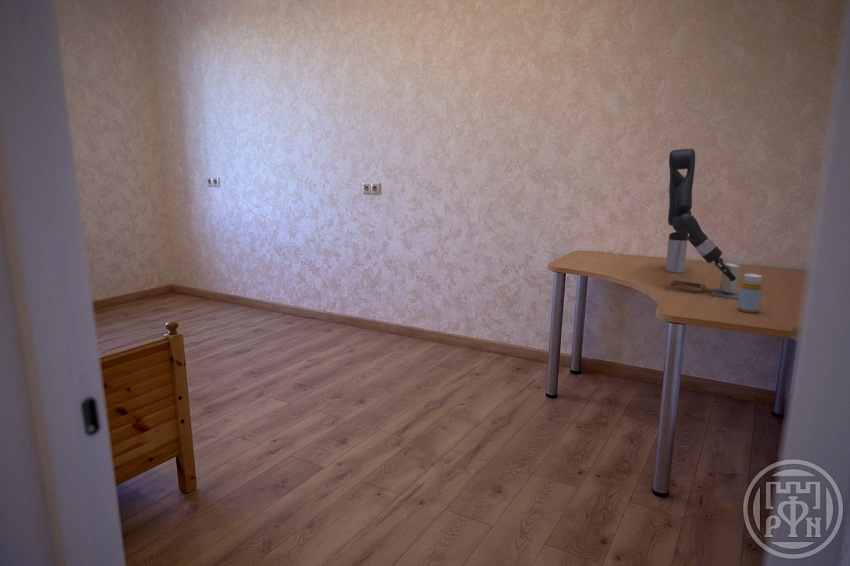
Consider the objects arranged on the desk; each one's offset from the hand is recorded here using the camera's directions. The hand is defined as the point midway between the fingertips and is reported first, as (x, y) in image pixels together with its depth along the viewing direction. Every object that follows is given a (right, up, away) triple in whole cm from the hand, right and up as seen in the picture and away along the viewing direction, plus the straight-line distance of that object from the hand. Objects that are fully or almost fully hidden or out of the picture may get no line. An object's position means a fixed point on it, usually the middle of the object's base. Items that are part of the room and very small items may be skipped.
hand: (733, 278), depth 251 cm
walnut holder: (-16, -5, +13) cm, 21 cm away
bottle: (-7, -14, -22) cm, 27 cm away
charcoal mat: (-1, -7, +2) cm, 8 cm away
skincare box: (-1, -6, +2) cm, 6 cm away
